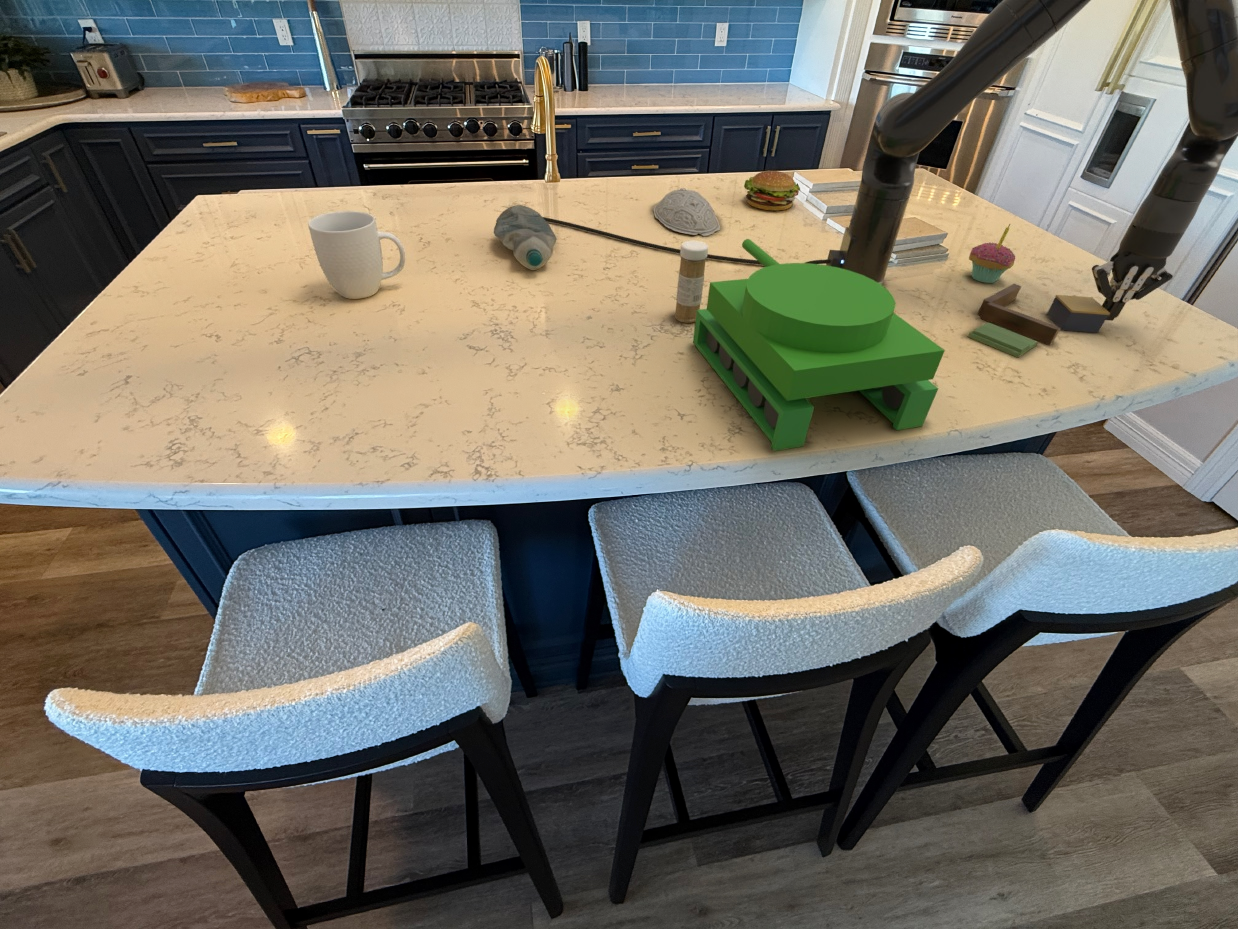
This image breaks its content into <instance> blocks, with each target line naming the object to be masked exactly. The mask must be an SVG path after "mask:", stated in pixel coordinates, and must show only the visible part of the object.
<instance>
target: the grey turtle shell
mask: <svg viewBox="0 0 1238 929" xmlns="http://www.w3.org/2000/svg"><path fill="white" fill-rule="evenodd" d="M653 215H654V217H655V218H656V220H659V222H660V224H663V226H664V227H665V228H667V229H669V230H671V231H674V232H678V233H681V234H686V235H691V236H697V235H698V234H699V235H701V236H702V237H708V236H710V235H713V234H714V233H715V232H718V231H720V229H721V226H720V224H719V220H718V218H717V215H716V214H715V210H714V209H713V207H712V205H711V204H710V202H709V201H708V199H706V198H705V197H704V196H702V195H701V193H700V192H698V191H695V190H692V189H686V188H684V187H681V188H679V189H674V190H672V191H669V192H668V193H666V194H664V197H662V198H661V200H660V201H659V202H658V203H657V204H656V205H654V207H653Z"/></svg>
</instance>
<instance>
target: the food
mask: <svg viewBox="0 0 1238 929" xmlns="http://www.w3.org/2000/svg"><path fill="white" fill-rule="evenodd" d="M743 184H744V185H743V187H744V189H745V190H747V191H746V193H747V194H746V195H745V198H746V201H747V203H748V204H749V205H750V206H752V207H754V208H756V209H760V210H764V211H773V212H776V211H785V210H787V209H790V208H791V207H792V206H793V202H794V201H795V198H796V197H797V196H798V195H799V193H800V192H799V191H801V187H800V185H799V184H798V183H797V182H796V181H795V180H794V178H793V177H792V176H791V175H789V174H788V173H784V171H780V170H765V171H764V170H763V171H761V172H758V173H757V174H755V175H754V176H750V177H749V179H746V180H744V183H743Z"/></svg>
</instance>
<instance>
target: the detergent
mask: <svg viewBox="0 0 1238 929" xmlns="http://www.w3.org/2000/svg"><path fill="white" fill-rule="evenodd" d="M543 217H544V216H542V214H540V213H539V212H538V211H536V210H535V209H533V208H531V207H529V206H526V205H521V204H517V205H515V204H514V205H512V206H509V207H507V208H506V209H504V210H503V211H502V212H501V213H500V214H499V216H497V218H496V220H495V226H494V228H493V234H494V236H495V237H497V239H498V240H499V241H500V242H501V243H502V244H503V246H504V247H506V248H507V249H508V250H511V251H512V252H513V257H514V258H515V259H516V261H518V262H519V263H520V264H521V265H522V266H523V267H525V268H526V269H528V270H531V271H537V270H539V269H541V268H542V267H544V266H545V265H546V263H548V261H549V260H550V259H551V257H552V253H553V252H552V250H553V249H554V246H555V244H556V242H557V240H558V238H557V236H556V234H555V233H554V231H553V229H552V226H550V223H549V222H547V221H546V220H544V218H543Z"/></svg>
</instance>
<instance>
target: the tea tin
mask: <svg viewBox="0 0 1238 929" xmlns="http://www.w3.org/2000/svg"><path fill="white" fill-rule="evenodd" d="M1109 314H1110V312H1108V311H1107V310H1106V309H1105V308H1104V307H1103V306H1102V304H1101V303H1100V302H1098V301H1097V300H1096V299H1095V298H1094V297H1092V296H1082V295H1081V296H1080V295H1067V294H1066V295H1065V294H1055V295H1054V298H1053V301H1052V303H1051V305H1050V307H1049V308H1048V311H1047V313H1046V316H1048V318H1049V319H1050V320H1051V321H1052V322H1053V323H1054V325H1055V326H1058V327H1060V328H1061V329H1060V331H1066V332H1067V331H1068V332H1079V333H1092V334H1099V332H1100V331H1101V329H1102V327H1103V326H1104V323H1105V322H1106V321H1107V320H1106V318H1107V317H1108V315H1109Z"/></svg>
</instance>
